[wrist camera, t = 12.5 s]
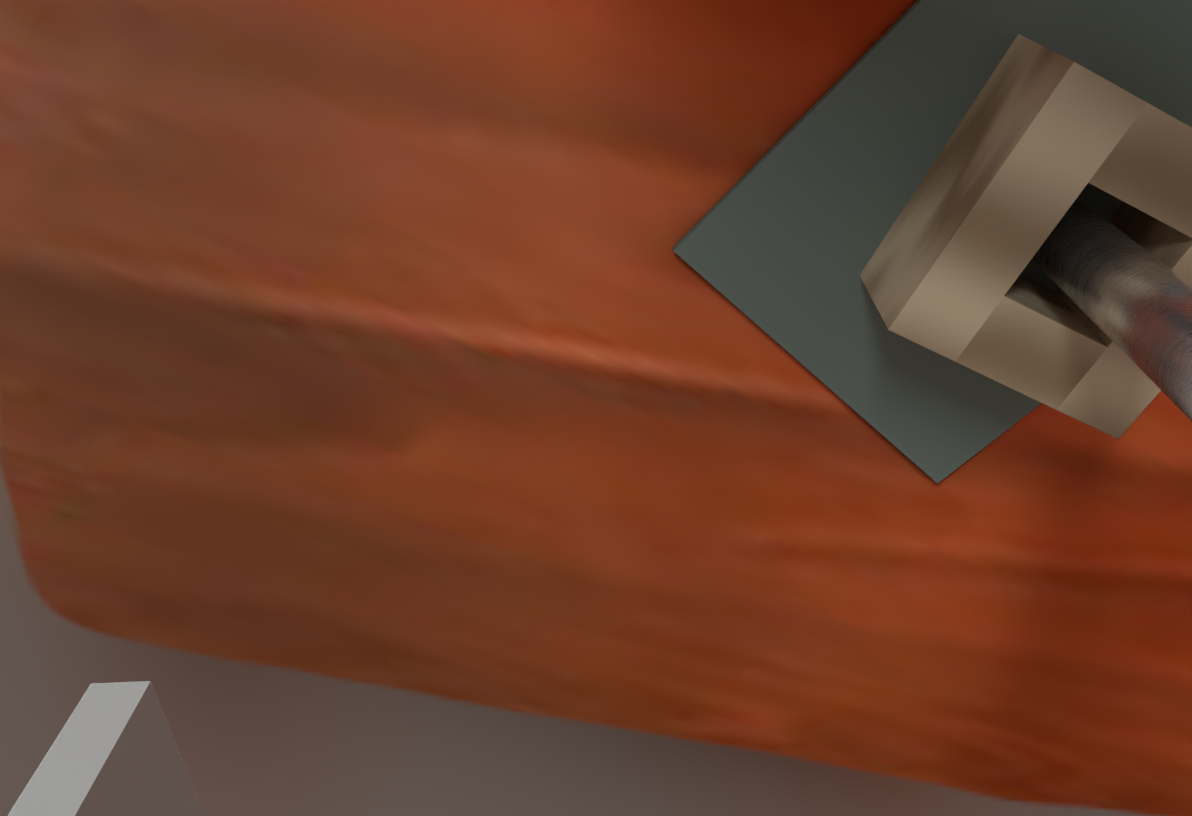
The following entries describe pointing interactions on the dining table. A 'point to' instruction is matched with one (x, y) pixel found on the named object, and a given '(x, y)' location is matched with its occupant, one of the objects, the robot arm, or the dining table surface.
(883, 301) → the wooden square socket block
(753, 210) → the felt mat
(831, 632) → the dining table surface
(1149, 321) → the metal peg
